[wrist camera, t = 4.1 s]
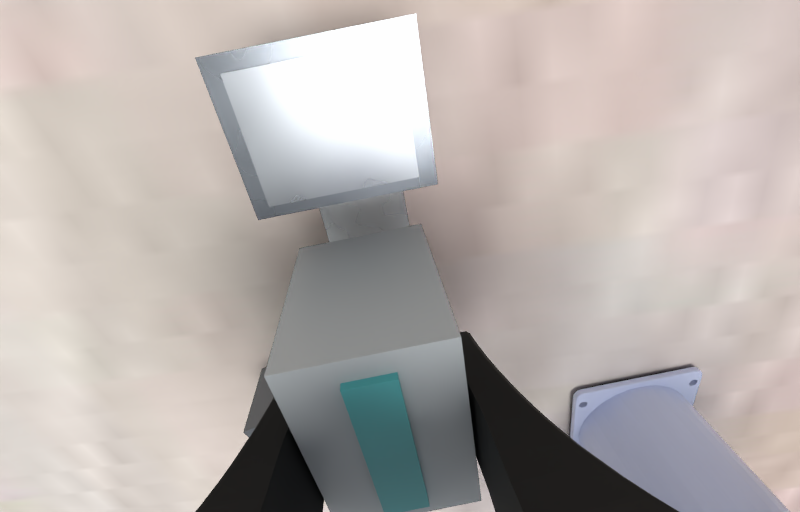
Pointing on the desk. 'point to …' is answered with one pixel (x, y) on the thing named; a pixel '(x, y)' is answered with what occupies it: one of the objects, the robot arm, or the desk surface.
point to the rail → (329, 123)
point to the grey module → (375, 376)
